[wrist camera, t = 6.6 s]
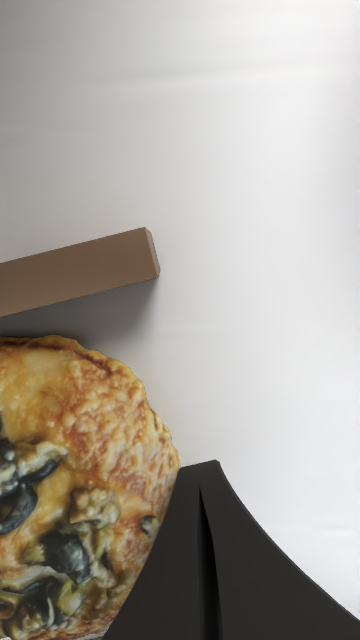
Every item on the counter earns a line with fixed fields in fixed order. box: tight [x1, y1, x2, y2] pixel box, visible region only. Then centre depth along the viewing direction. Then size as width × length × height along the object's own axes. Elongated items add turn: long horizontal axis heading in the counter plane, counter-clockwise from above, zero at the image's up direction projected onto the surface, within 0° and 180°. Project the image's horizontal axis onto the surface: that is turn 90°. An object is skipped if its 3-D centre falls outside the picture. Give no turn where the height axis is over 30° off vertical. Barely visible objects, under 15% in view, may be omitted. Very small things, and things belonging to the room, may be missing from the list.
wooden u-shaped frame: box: [0, 227, 160, 640], centre depth 11 cm, size 16×14×2 cm
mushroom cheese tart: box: [0, 335, 180, 640], centre depth 10 cm, size 11×11×5 cm
